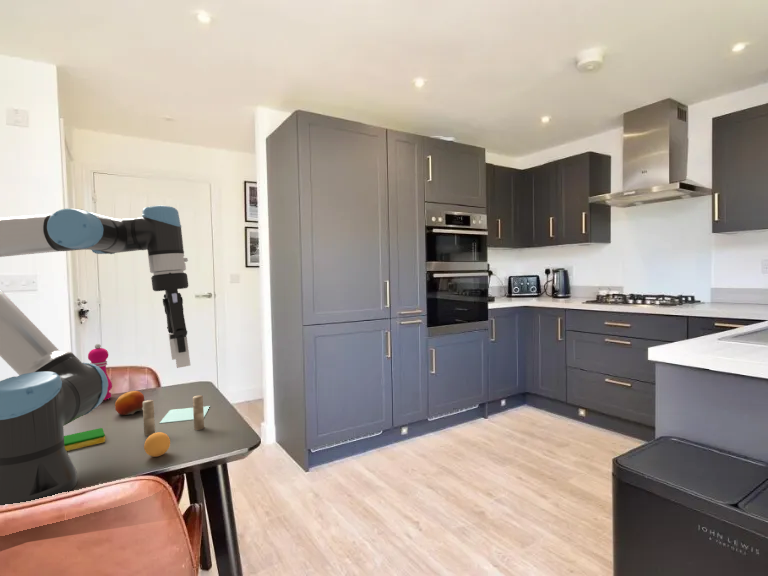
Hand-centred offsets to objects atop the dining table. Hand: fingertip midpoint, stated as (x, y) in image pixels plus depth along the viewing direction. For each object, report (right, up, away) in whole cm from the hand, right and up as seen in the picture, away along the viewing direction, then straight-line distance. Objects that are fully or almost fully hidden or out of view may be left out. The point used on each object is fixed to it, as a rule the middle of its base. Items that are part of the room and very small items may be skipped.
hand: (180, 362), depth 97 cm
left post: (-16, -22, +15) cm, 32 cm away
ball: (-6, -20, +1) cm, 21 cm away
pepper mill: (-53, -22, +49) cm, 76 cm away
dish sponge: (-33, -24, +9) cm, 42 cm away
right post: (-4, -22, +18) cm, 29 cm away
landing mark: (-13, -22, +30) cm, 40 cm away
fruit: (-33, -22, +34) cm, 52 cm away
